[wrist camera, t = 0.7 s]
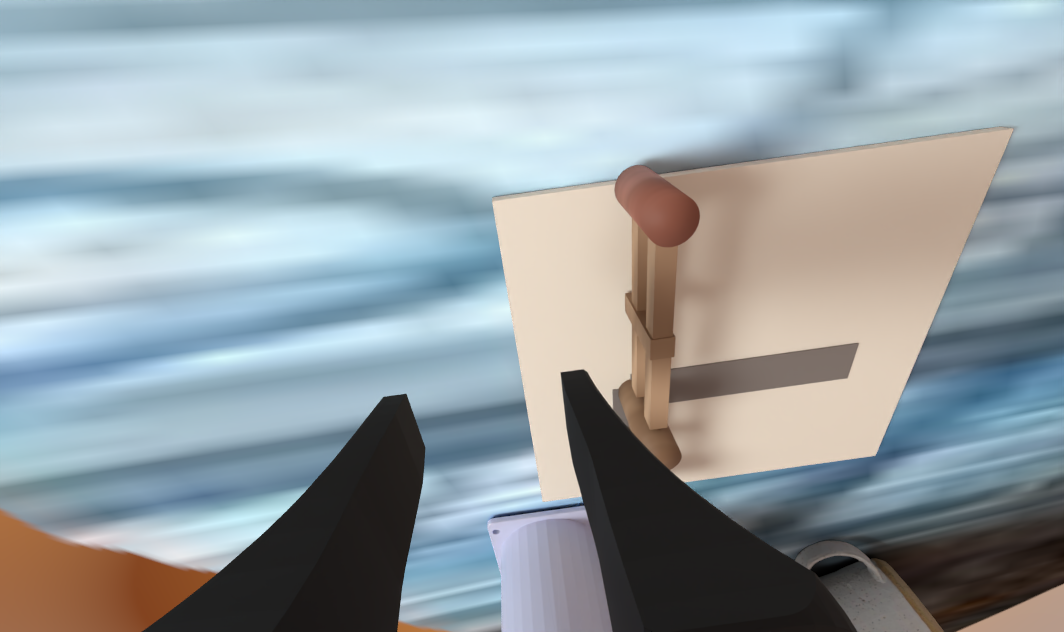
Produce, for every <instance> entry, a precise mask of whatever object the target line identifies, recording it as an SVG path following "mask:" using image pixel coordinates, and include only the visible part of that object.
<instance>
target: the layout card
mask: <svg viewBox="0 0 1064 632" xmlns="http://www.w3.org/2000/svg"><path fill="white" fill-rule="evenodd" d="M1013 130H1014V129H1013V128H1006V127H994V128H987V129H979V130H972V131H965V132H958V133H951V134H943V135H936V136H929V137H922V138H915V139H908V140H900V141H893V142H886V143H879V144H872V145H864V146H857V147H850V148H843V149H836V150H829V151H821V152H814V153H807V154H800V155H793V156H785V157H778V158H771V159H764V160H757V161H750V162H742V163H735V164H728V165H721V166H714V167H707V168H699V169H692V170H685V171H678V172H671V173H663V174H658V175H659V176H661V177H662V178H664V179H665V180H666V181H668V182H669V183H671V184H672V185H673V186H675V187H676V188H678V189H679V190H680V191H682V192H683V193H684V194H686V195H687V196H689V197H690V198H691V199H693V200H694V201H695V202H696V204H697V206H698V208H699V212H700V220H699V224H698V227H697V229H696V231H695V232H694V234H693V235H692V236H691V237H690V238H689V239H688V240H687V241H686V242H684V243H682V244H680V245H678V255H677V272H676V289H675V306H674V323H673V334H674V335H675V337H676V339H675V355H674V357H671V374H670V390H669V407H668V426H669V428H670V430H671V432H672V434H673V437H674V439H675V441H676V443H677V445H678V447H679V449H680V452H681V454H682V458H681V461H680V462H679V464H678V465H677V466H676V467H674V468H673V469H671V471H672V472H673V473H674V474H675V475H676V476H677V477H678V478H680V479H681V480H682V481H683V482H690V481H697V480H704V479H711V478H719V477H726V476H733V475H740V474H747V473H754V472H762V471H769V470H776V469H783V468H790V467H798V466H805V465H812V464H819V463H826V462H833V461H841V460H848V459H855V458H862V457H869V456H875V455H876V453H877V451H878V448H879V446H880V444H881V441H882V439H883V437H884V434H885V432H886V429H887V427H888V425H889V422H890V420H891V418H892V415H893V413H894V411H895V408H896V406H897V403H898V401H899V399H900V396H901V394H902V392H903V389H904V387H905V385H906V382H907V380H908V377H909V375H910V373H911V370H912V368H913V366H914V363H915V361H916V359H917V356H918V354H919V352H920V349H921V347H922V344H923V342H924V340H925V337H926V335H927V333H928V330H929V328H930V326H931V323H932V321H933V318H934V316H935V314H936V311H937V309H938V307H939V304H940V302H941V300H942V297H943V295H944V292H945V290H946V288H947V285H948V283H949V281H950V278H951V276H952V274H953V271H954V269H955V266H956V264H957V262H958V259H959V257H960V255H961V252H962V250H963V248H964V245H965V243H966V241H967V238H968V236H969V233H970V231H971V229H972V226H973V224H974V222H975V219H976V217H977V215H978V212H979V210H980V207H981V205H982V203H983V200H984V198H985V196H986V193H987V191H988V189H989V186H990V184H991V181H992V179H993V177H994V174H995V172H996V170H997V167H998V165H999V163H1000V160H1001V158H1002V156H1003V153H1004V151H1005V148H1006V146H1007V144H1008V141H1009V139H1010V137H1011V134H1012V132H1013ZM616 181H617V180H613V181H606V182H599V183H592V184H584V185H577V186H570V187H563V188H556V189H549V190H541V191H534V192H527V193H520V194H513V195H506V196H498V197H492V202H493V208H494V214H495V220H496V226H497V232H498V238H499V244H500V250H501V256H502V262H503V268H504V274H505V280H506V286H507V292H508V298H509V304H510V310H511V316H512V321H513V327H514V333H515V339H516V345H517V351H518V357H519V363H520V369H521V375H522V381H523V387H524V393H525V399H526V405H527V411H528V417H529V423H530V429H531V435H532V441H533V447H534V453H535V459H536V464H537V470H538V476H539V482H540V488H541V494H542V500H543V502H546V501H553V500H561V499H568V498H575V497H582V495H581V492H580V488H579V485H578V481H577V477H576V474H575V470H574V467H573V463H572V457H571V452H570V446H569V440H568V434H567V428H566V419H565V410H564V401H563V391H562V382H561V373H560V372H567V371H574V370H581V369H584V370H585V371H587V372H588V374H589V376H590V378H591V379H592V381H593V382H594V384H595V386H596V387H597V389H598V390H599V391H600V393H601V394H602V396H603V397H604V398H605V400H606V401H607V402H608V404H609V405H610V406H611V408H612V409H613V410H614V411H615V413H616V414H617V415H618V416H619V417H620V419H621V420H622V421H623V422H624V423H625V425H626V426H627V427H629V424H628V421H627V419H626V416H625V413H624V410H623V407H622V405H621V402H620V399H619V396H618V392H619V387H620V386H621V384H622V383H624V382H625V381H627V380H629V379H630V380H632V324H631V322H630V320H629V318H628V316H627V314H626V312H625V293H631V292H632V217H631V216H630V215H629V214H628V213H627V212H626V210H625V209H624V208H623V207H622V206H621V204H620V203H619V202H618V201H617V199H616V196H615V191H614V189H615V183H616Z"/></svg>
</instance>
